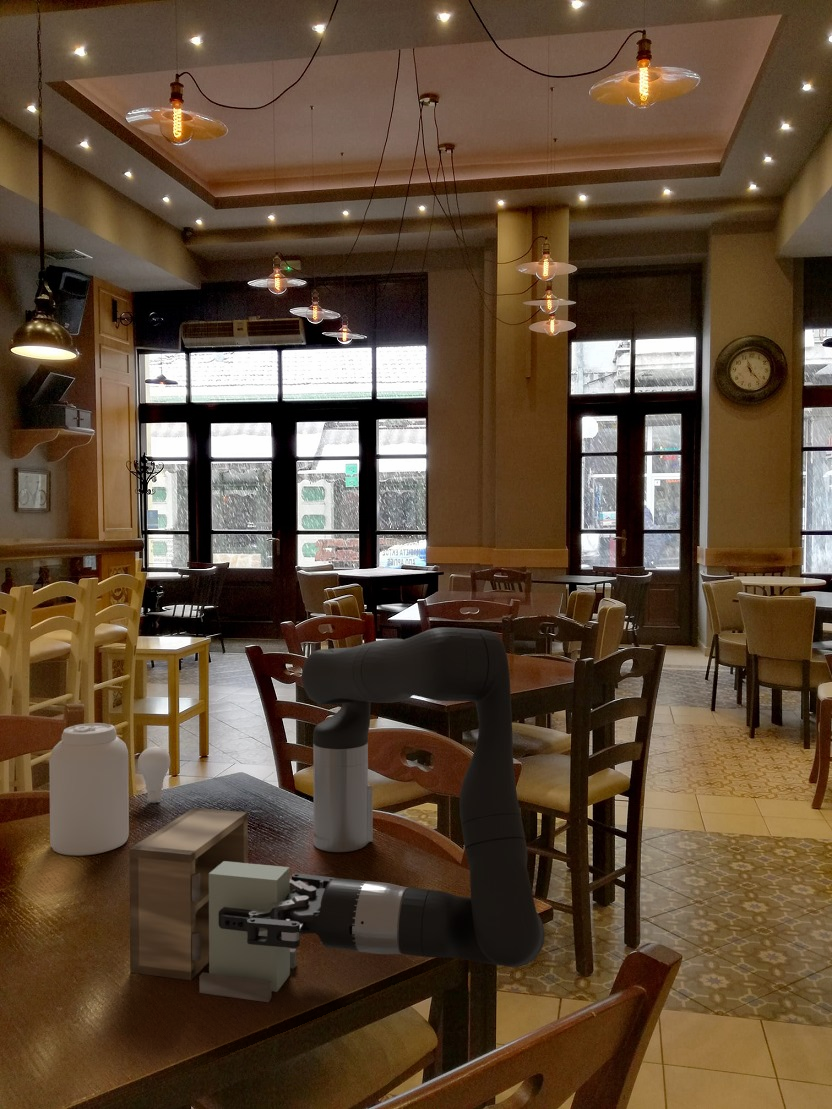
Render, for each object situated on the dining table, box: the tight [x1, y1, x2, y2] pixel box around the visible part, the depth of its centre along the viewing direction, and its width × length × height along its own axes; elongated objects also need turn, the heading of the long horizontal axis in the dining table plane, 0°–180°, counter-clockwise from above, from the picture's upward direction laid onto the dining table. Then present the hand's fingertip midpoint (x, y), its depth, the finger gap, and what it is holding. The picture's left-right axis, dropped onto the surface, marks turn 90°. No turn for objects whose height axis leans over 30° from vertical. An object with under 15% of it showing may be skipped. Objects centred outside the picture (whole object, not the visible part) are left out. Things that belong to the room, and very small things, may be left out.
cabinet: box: [128, 807, 297, 1003], centre depth 109 cm, size 18×19×15 cm
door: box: [208, 861, 291, 993], centre depth 104 cm, size 5×8×13 cm, turn 77°
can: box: [48, 722, 130, 856], centre depth 148 cm, size 12×12×20 cm
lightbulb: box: [137, 746, 171, 804], centre depth 170 cm, size 6×6×11 cm
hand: (236, 902), depth 104 cm, fingers open, 8 cm apart
